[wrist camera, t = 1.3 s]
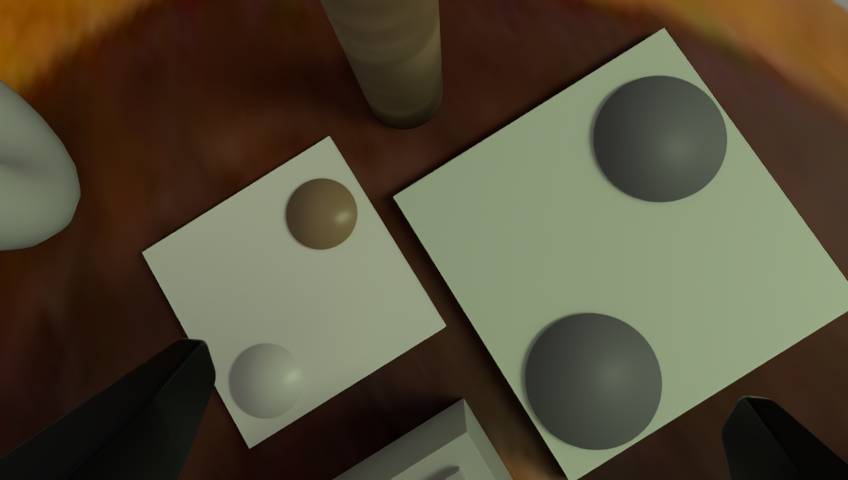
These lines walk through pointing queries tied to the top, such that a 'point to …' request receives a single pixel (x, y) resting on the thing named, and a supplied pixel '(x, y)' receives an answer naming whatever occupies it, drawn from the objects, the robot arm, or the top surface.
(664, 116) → the board
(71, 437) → the robot arm
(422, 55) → the pin
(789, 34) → the top surface
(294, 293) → the card
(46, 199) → the donut
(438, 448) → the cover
